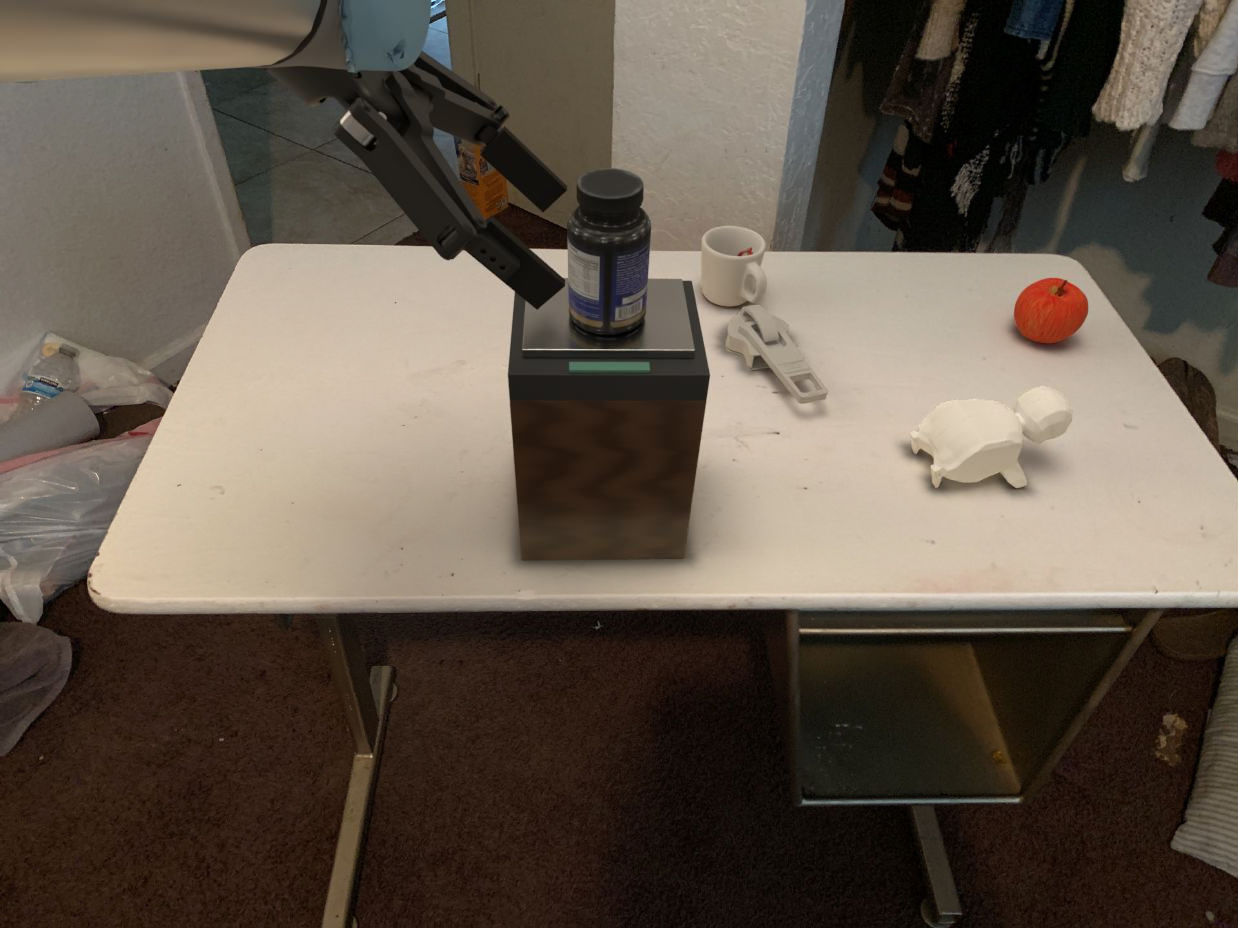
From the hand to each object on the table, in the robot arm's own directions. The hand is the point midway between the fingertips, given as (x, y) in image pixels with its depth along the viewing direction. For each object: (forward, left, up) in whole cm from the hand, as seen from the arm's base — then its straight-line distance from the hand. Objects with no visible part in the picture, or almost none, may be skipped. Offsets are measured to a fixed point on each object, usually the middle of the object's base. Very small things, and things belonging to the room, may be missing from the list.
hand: (553, 244), depth 61 cm
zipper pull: (+25, +22, -29) cm, 44 cm away
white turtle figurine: (+44, +6, -29) cm, 53 cm away
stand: (+4, 0, -29) cm, 29 cm away
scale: (+4, 0, -10) cm, 10 cm away
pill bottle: (+4, 0, -6) cm, 8 cm away
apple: (+60, +29, -29) cm, 73 cm away
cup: (+22, +36, -29) cm, 51 cm away
